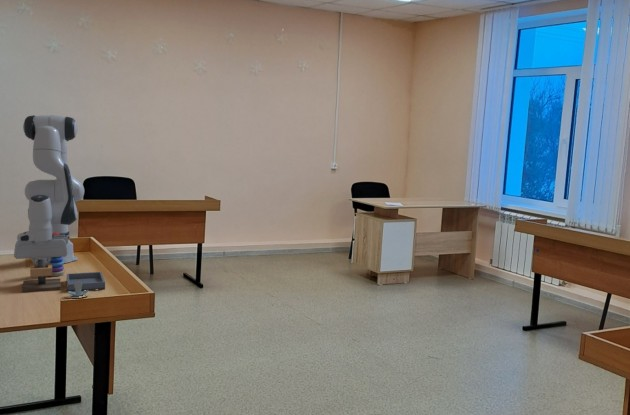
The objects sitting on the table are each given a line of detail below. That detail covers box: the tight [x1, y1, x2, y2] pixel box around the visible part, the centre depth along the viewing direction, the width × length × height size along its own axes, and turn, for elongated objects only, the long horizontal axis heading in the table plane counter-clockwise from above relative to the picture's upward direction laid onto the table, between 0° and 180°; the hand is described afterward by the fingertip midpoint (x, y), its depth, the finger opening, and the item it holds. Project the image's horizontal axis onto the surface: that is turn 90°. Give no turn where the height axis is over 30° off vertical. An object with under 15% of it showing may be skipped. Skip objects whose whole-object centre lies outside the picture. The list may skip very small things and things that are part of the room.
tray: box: [66, 271, 106, 292], centre depth 257 cm, size 18×14×3 cm
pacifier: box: [67, 281, 89, 299], centre depth 239 cm, size 7×6×6 cm
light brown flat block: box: [29, 263, 53, 278], centre depth 253 cm, size 12×8×3 cm, turn 23°
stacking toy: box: [47, 232, 66, 277], centre depth 270 cm, size 8×8×19 cm
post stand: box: [21, 259, 62, 293], centre depth 251 cm, size 14×14×11 cm
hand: (41, 267), depth 257 cm, fingers closed on light brown flat block, 2 cm apart
